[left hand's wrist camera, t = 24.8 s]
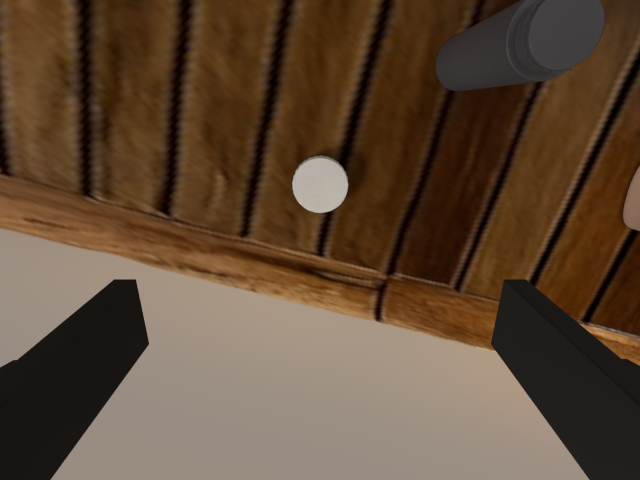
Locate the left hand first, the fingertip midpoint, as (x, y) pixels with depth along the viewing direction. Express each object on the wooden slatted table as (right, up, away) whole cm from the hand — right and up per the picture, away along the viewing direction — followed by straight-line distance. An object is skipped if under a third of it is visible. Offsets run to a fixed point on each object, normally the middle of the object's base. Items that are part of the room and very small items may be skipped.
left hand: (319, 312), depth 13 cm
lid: (0, +8, +23) cm, 24 cm away
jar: (+13, +19, +20) cm, 31 cm away
